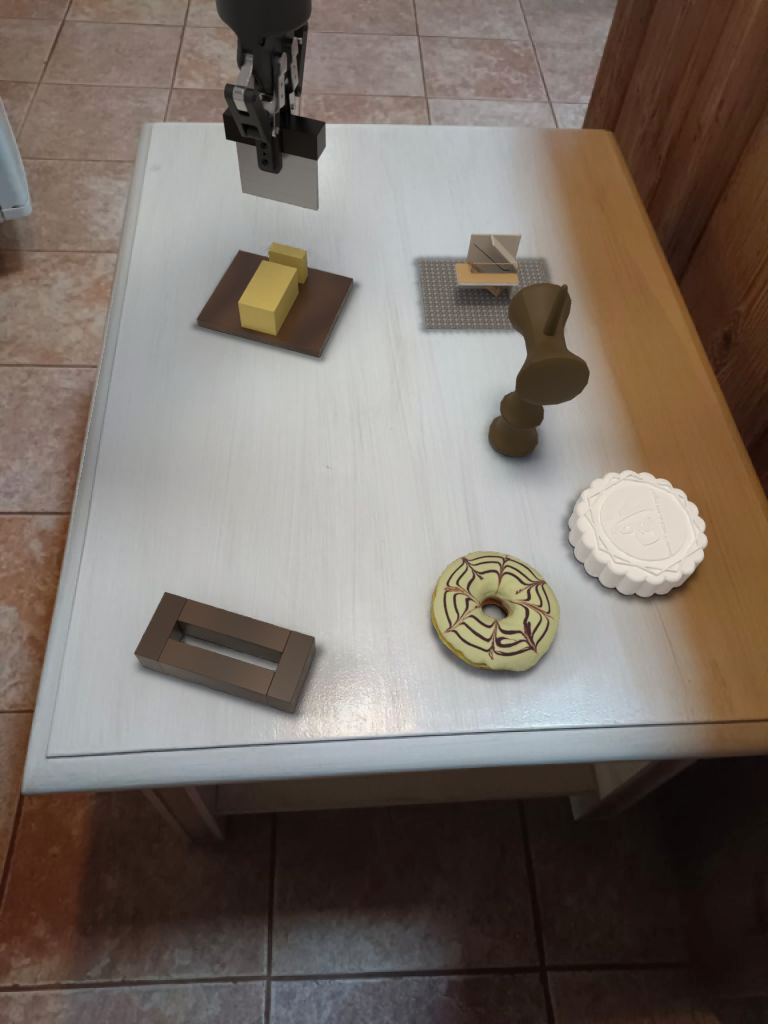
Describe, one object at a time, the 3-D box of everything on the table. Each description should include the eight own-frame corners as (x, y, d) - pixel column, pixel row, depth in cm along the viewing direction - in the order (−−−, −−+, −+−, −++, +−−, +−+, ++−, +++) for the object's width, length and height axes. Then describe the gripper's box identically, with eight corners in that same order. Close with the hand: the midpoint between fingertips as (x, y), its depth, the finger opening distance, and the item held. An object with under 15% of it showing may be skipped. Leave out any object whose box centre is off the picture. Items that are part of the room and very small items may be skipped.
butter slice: (270, 275, 82) (268, 250, 79) (275, 267, 83) (273, 241, 80) (303, 284, 82) (302, 258, 79) (308, 275, 83) (307, 250, 80)
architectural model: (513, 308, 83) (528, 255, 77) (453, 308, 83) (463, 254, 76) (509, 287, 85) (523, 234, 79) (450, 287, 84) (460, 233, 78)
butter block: (241, 327, 78) (237, 302, 75) (265, 284, 81) (262, 259, 78) (276, 336, 78) (274, 311, 75) (298, 293, 81) (297, 268, 78)
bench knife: (233, 197, 72) (222, 114, 65) (243, 183, 73) (232, 100, 66) (319, 218, 71) (316, 136, 64) (327, 203, 72) (325, 121, 65)
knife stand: (142, 666, 59) (133, 653, 56) (171, 606, 62) (164, 591, 59) (292, 713, 58) (290, 702, 55) (315, 650, 61) (315, 637, 58)
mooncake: (557, 486, 71) (567, 465, 68) (676, 486, 71) (691, 465, 68) (579, 599, 64) (591, 581, 61) (709, 597, 65) (727, 580, 62)
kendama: (486, 478, 71) (535, 328, 54) (478, 401, 76) (520, 242, 59) (547, 479, 71) (614, 330, 54) (535, 403, 76) (593, 245, 59)
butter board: (197, 325, 79) (196, 318, 78) (240, 256, 85) (239, 249, 84) (319, 357, 78) (319, 351, 77) (353, 285, 84) (353, 278, 83)
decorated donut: (543, 693, 60) (554, 678, 57) (417, 660, 61) (421, 644, 57) (558, 582, 65) (569, 564, 62) (442, 554, 66) (447, 533, 63)
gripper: (248, -100, 58) (266, 114, 73) (172, -25, 51) (209, 195, 66) (337, -82, 57) (337, 130, 72) (272, -3, 50) (287, 214, 65)
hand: (276, 160), depth 69 cm, fingers closed on bench knife, 2 cm apart
